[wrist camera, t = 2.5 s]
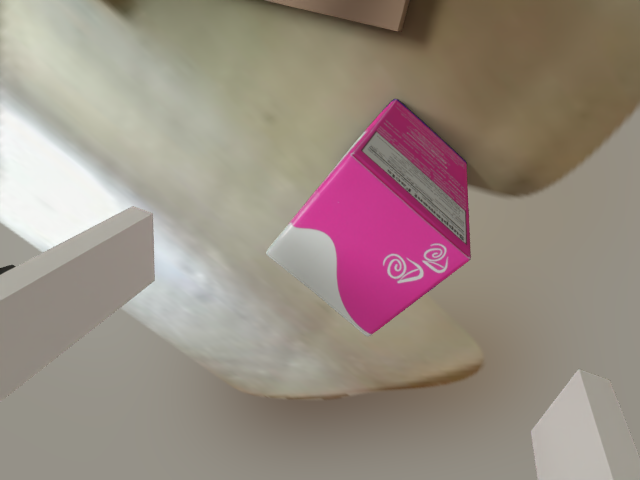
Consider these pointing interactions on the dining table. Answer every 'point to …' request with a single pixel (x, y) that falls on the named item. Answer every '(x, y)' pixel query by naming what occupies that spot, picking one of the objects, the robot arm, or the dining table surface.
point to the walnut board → (358, 10)
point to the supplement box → (382, 222)
